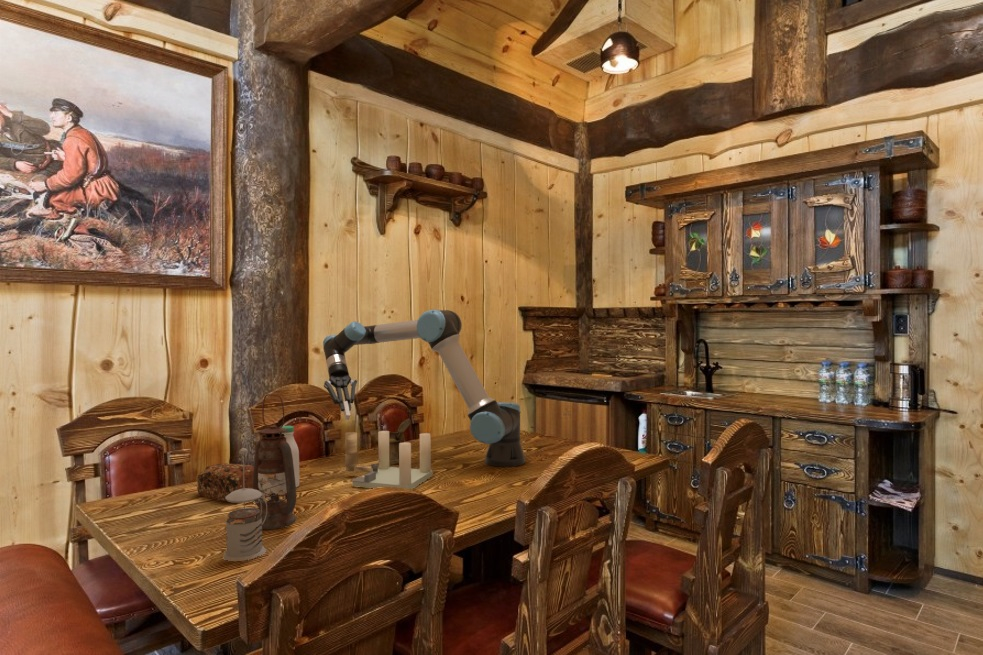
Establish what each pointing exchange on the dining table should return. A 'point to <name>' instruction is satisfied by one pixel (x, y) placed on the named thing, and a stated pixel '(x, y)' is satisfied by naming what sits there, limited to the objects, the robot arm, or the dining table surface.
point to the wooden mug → (397, 441)
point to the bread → (224, 480)
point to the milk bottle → (295, 453)
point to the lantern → (274, 460)
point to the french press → (244, 525)
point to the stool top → (404, 473)
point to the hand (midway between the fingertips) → (347, 417)
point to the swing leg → (355, 455)
